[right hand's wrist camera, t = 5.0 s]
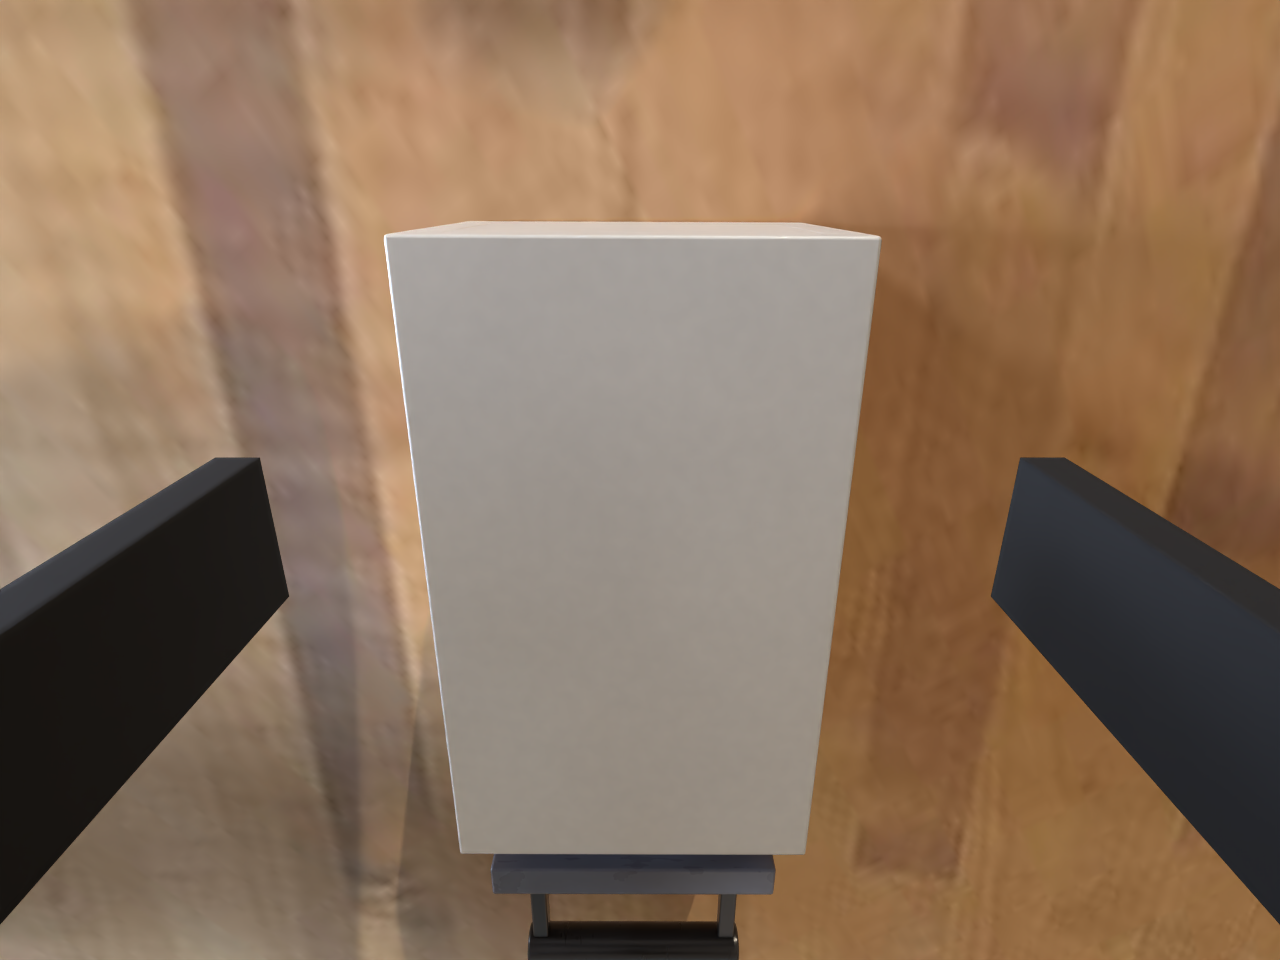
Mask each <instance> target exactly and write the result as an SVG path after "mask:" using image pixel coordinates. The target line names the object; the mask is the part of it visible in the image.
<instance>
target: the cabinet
mask: <svg viewBox="0 0 1280 960" xmlns="http://www.w3.org/2000/svg"><path fill="white" fill-rule="evenodd" d="M881 241H882V240H881V237H879V236H876V235H870V234H865V233H859V232H853V231H847V230H841V229H835V228H830V227H824V226H818V225H812V224H807V223H769V222H524V221H467V222H462V223H455V224H449V225H442V226H436V227H429V228H423V229H416V230H410V231H403V232H397V233H390V234H386V235H385V236H384V243H385V251H386V259H387V267H388V275H389V283H390V291H391V299H392V307H393V315H394V323H395V331H396V339H397V347H398V355H399V363H400V371H401V379H402V387H403V395H404V403H405V411H406V419H407V427H408V435H409V443H410V451H411V459H412V467H413V475H414V483H415V492H416V500H417V508H418V516H419V524H420V532H421V540H422V548H423V556H424V564H425V572H426V580H427V588H428V596H429V604H430V612H431V620H432V628H433V636H434V644H435V652H436V660H437V668H438V676H439V684H440V692H441V700H442V708H443V716H444V724H445V732H446V740H447V748H448V756H449V764H450V773H451V781H452V789H453V797H454V805H455V813H456V821H457V829H458V837H459V845H460V852H461V853H462V854H702V855H803V854H805V851H806V843H807V834H808V826H809V818H810V810H811V802H812V794H813V786H814V778H815V770H816V762H817V754H818V746H819V738H820V730H821V722H822V714H823V706H824V698H825V690H826V682H827V674H828V666H829V658H830V650H831V642H832V634H833V626H834V618H835V610H836V602H837V594H838V586H839V578H840V570H841V562H842V554H843V546H844V538H845V530H846V522H847V514H848V506H849V498H850V490H851V482H852V474H853V466H854V458H855V450H856V442H857V434H858V426H859V418H860V410H861V402H862V394H863V386H864V378H865V370H866V362H867V354H868V346H869V338H870V330H871V322H872V314H873V306H874V298H875V290H876V282H877V273H878V265H879V257H880V249H881Z"/></svg>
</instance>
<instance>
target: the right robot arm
mask: <svg viewBox="0 0 1280 960" xmlns="http://www.w3.org/2000/svg"><path fill="white" fill-rule="evenodd" d="M288 597H289V594H288V589H287V584H286V579H285V575H284V570H283V565H282V561H281V556H280V551H279V546H278V542H277V537H276V532H275V528H274V523H273V518H272V513H271V509H270V504H269V499H268V495H267V490H266V485H265V480H264V476H263V471H262V466H261V462H260V458H214V459H212V460H211V461H209V462H207V463H206V464H204V465H203V466H201V467H199V468H198V469H196V470H194V471H193V472H191V473H189V474H188V475H186V476H185V477H183V478H181V479H180V480H178V481H176V482H175V483H173V484H171V485H170V486H168V487H167V488H165V489H163V490H162V491H160V492H158V493H157V494H155V495H154V496H152V497H150V498H149V499H147V500H145V501H144V502H142V503H140V504H139V505H137V506H136V507H134V508H132V509H131V510H129V511H127V512H126V513H124V514H122V515H121V516H119V517H118V518H116V519H114V520H113V521H111V522H109V523H108V524H106V525H104V526H103V527H101V528H100V529H98V530H96V531H95V532H93V533H91V534H90V535H88V536H87V537H85V538H83V539H82V540H80V541H78V542H77V543H75V544H73V545H72V546H70V547H69V548H67V549H65V550H64V551H62V552H60V553H59V554H57V555H55V556H54V557H52V558H51V559H49V560H47V561H46V562H44V563H42V564H41V565H39V566H38V567H36V568H34V569H33V570H31V571H29V572H28V573H26V574H24V575H23V576H21V577H20V578H18V579H16V580H15V581H13V582H11V583H10V584H8V585H6V586H5V587H3V588H2V589H0V924H1V923H2V922H3V921H4V920H5V918H6V917H7V916H8V915H9V914H10V913H11V912H12V911H13V909H14V908H15V907H16V906H17V905H18V904H19V903H20V901H21V900H22V899H23V898H24V897H25V896H26V895H27V893H28V892H29V891H30V890H31V889H32V888H33V887H34V886H35V884H36V883H37V882H38V881H39V880H40V879H41V878H42V876H43V875H44V874H45V873H46V872H47V871H48V870H49V868H50V867H51V866H52V865H53V864H54V863H55V862H56V861H57V859H58V858H59V857H60V856H61V855H62V854H63V853H64V851H65V850H66V849H67V848H68V847H69V846H70V845H71V843H72V842H73V841H74V840H75V839H76V838H77V837H78V836H79V834H80V833H81V832H82V831H83V830H84V829H85V828H86V826H87V825H88V824H89V823H90V822H91V821H92V820H93V818H94V817H95V816H96V815H97V814H98V813H99V812H100V811H101V809H102V808H103V807H104V806H105V805H106V804H107V803H108V801H109V800H110V799H111V798H112V797H113V796H114V795H115V794H116V792H117V791H118V790H119V789H120V788H121V787H122V786H123V784H124V783H125V782H126V781H127V780H128V779H129V778H130V776H131V775H132V774H133V773H134V772H135V771H136V770H137V769H138V767H139V766H140V765H141V764H142V763H143V762H144V761H145V759H146V758H147V757H148V756H149V755H150V754H151V753H152V751H153V750H154V749H155V748H156V747H157V746H158V745H159V744H160V742H161V741H162V740H163V739H164V738H165V737H166V736H167V734H168V733H169V732H170V731H171V730H172V729H173V728H174V726H175V725H176V724H177V723H178V722H179V721H180V720H181V719H182V717H183V716H184V715H185V714H186V713H187V712H188V711H189V709H190V708H191V707H192V706H193V705H194V704H195V703H196V701H197V700H198V699H199V698H200V697H201V696H202V695H203V694H204V692H205V691H206V690H207V689H208V688H209V687H210V686H211V684H212V683H213V682H214V681H215V680H216V679H217V678H218V677H219V675H220V674H221V673H222V672H223V671H224V670H225V669H226V667H227V666H228V665H229V664H230V663H231V662H232V661H233V659H234V658H235V657H236V656H237V655H238V654H239V653H240V652H241V650H242V649H243V648H244V647H245V646H246V645H247V644H248V642H249V641H250V640H251V639H252V638H253V637H254V636H255V634H256V633H257V632H258V631H259V630H260V629H261V628H262V627H263V625H264V624H265V623H266V622H267V621H268V620H269V619H270V617H271V616H272V615H273V614H274V613H275V612H276V611H277V609H278V608H279V607H280V606H281V605H282V604H283V603H284V602H285V600H286V599H287V598H288ZM991 597H992V598H993V599H994V600H995V602H996V603H997V604H998V605H999V606H1000V607H1001V608H1002V609H1003V611H1004V612H1005V613H1006V614H1007V615H1008V616H1009V617H1010V619H1011V620H1012V621H1013V622H1014V623H1015V624H1016V625H1017V627H1018V628H1019V629H1020V630H1021V631H1022V632H1023V633H1024V634H1025V636H1026V637H1027V638H1028V639H1029V640H1030V641H1031V642H1032V644H1033V645H1034V646H1035V647H1036V648H1037V649H1038V650H1039V652H1040V653H1041V654H1042V655H1043V656H1044V657H1045V658H1046V659H1047V661H1048V662H1049V663H1050V664H1051V665H1052V666H1053V667H1054V669H1055V670H1056V671H1057V672H1058V673H1059V674H1060V675H1061V677H1062V678H1063V679H1064V680H1065V681H1066V682H1067V683H1068V684H1069V686H1070V687H1071V688H1072V689H1073V690H1074V691H1075V692H1076V694H1077V695H1078V696H1079V697H1080V698H1081V699H1082V700H1083V701H1084V703H1085V704H1086V705H1087V706H1088V707H1089V708H1090V709H1091V711H1092V712H1093V713H1094V714H1095V715H1096V716H1097V717H1098V719H1099V720H1100V721H1101V722H1102V723H1103V724H1104V725H1105V726H1106V728H1107V729H1108V730H1109V731H1110V732H1111V733H1112V734H1113V736H1114V737H1115V738H1116V739H1117V740H1118V741H1119V742H1120V744H1121V745H1122V746H1123V747H1124V748H1125V749H1126V750H1127V751H1128V753H1129V754H1130V755H1131V756H1132V757H1133V758H1134V759H1135V761H1136V762H1137V763H1138V764H1139V765H1140V766H1141V767H1142V769H1143V770H1144V771H1145V772H1146V773H1147V774H1148V775H1149V776H1150V778H1151V779H1152V780H1153V781H1154V782H1155V783H1156V784H1157V786H1158V787H1159V788H1160V789H1161V790H1162V791H1163V792H1164V794H1165V795H1166V796H1167V797H1168V798H1169V799H1170V800H1171V801H1172V803H1173V804H1174V805H1175V806H1176V807H1177V808H1178V809H1179V811H1180V812H1181V813H1182V814H1183V815H1184V816H1185V817H1186V818H1187V820H1188V821H1189V822H1190V823H1191V824H1192V825H1193V826H1194V828H1195V829H1196V830H1197V831H1198V832H1199V833H1200V834H1201V836H1202V837H1203V838H1204V839H1205V840H1206V841H1207V842H1208V843H1209V845H1210V846H1211V847H1212V848H1213V849H1214V850H1215V851H1216V853H1217V854H1218V855H1219V856H1220V857H1221V858H1222V859H1223V861H1224V862H1225V863H1226V864H1227V865H1228V866H1229V867H1230V868H1231V870H1232V871H1233V872H1234V873H1235V874H1236V875H1237V876H1238V878H1239V879H1240V880H1241V881H1242V882H1243V883H1244V884H1245V886H1246V887H1247V888H1248V889H1249V890H1250V891H1251V892H1252V893H1253V895H1254V896H1255V897H1256V898H1257V899H1258V900H1259V901H1260V903H1261V904H1262V905H1263V906H1264V907H1265V908H1266V909H1267V911H1268V912H1269V913H1270V914H1271V915H1272V916H1273V917H1274V918H1275V920H1276V921H1277V922H1278V923H1279V924H1280V589H1278V588H1277V587H1275V586H1274V585H1272V584H1270V583H1269V582H1267V581H1265V580H1264V579H1262V578H1260V577H1259V576H1257V575H1256V574H1254V573H1252V572H1251V571H1249V570H1247V569H1246V568H1244V567H1242V566H1241V565H1239V564H1238V563H1236V562H1234V561H1233V560H1231V559H1229V558H1228V557H1226V556H1225V555H1223V554H1221V553H1220V552H1218V551H1216V550H1215V549H1213V548H1211V547H1210V546H1208V545H1207V544H1205V543H1203V542H1202V541H1200V540H1198V539H1197V538H1195V537H1193V536H1192V535H1190V534H1189V533H1187V532H1185V531H1184V530H1182V529H1180V528H1179V527H1177V526H1175V525H1174V524H1172V523H1171V522H1169V521H1167V520H1166V519H1164V518H1162V517H1161V516H1159V515H1158V514H1156V513H1154V512H1153V511H1151V510H1149V509H1148V508H1146V507H1144V506H1143V505H1141V504H1140V503H1138V502H1136V501H1135V500H1133V499H1131V498H1130V497H1128V496H1126V495H1125V494H1123V493H1122V492H1120V491H1118V490H1117V489H1115V488H1113V487H1112V486H1110V485H1109V484H1107V483H1105V482H1104V481H1102V480H1100V479H1099V478H1097V477H1095V476H1094V475H1092V474H1091V473H1089V472H1087V471H1086V470H1084V469H1082V468H1081V467H1079V466H1077V465H1076V464H1074V463H1073V462H1071V461H1069V460H1068V459H1066V458H1020V462H1019V466H1018V471H1017V476H1016V480H1015V485H1014V490H1013V495H1012V499H1011V504H1010V509H1009V513H1008V518H1007V523H1006V528H1005V532H1004V537H1003V542H1002V546H1001V551H1000V556H999V561H998V565H997V570H996V575H995V579H994V584H993V589H992V594H991Z"/></svg>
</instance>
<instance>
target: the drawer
mask: <svg viewBox="0 0 1280 960" xmlns="http://www.w3.org/2000/svg"><path fill="white" fill-rule="evenodd" d="M775 871H776V870H775V865H774V860H773V855H702V854H494V857H493V861H492V866H491V878H492V888H493V893H495V894H530V895H531V908H532V921H533V922H532V923H531V926H530V932H529V940H528V960H739V943H738V932H737V927H736V924H735V909H736V896H737V894H773V890H774V880H775ZM548 894H719V896H718V912H717V921H550V911H549V895H548Z"/></svg>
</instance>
